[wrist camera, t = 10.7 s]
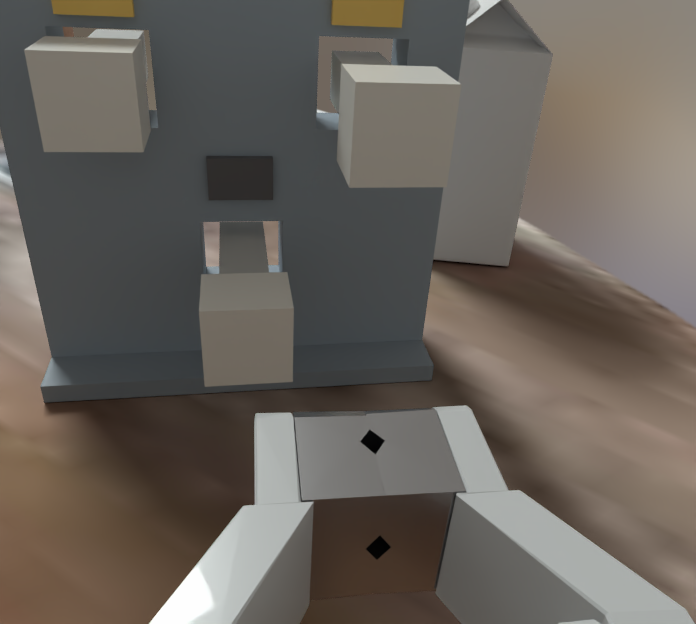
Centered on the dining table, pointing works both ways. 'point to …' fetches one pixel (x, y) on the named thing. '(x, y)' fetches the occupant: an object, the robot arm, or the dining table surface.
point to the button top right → (392, 121)
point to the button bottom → (245, 313)
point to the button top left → (91, 91)
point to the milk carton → (492, 134)
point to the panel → (222, 195)
